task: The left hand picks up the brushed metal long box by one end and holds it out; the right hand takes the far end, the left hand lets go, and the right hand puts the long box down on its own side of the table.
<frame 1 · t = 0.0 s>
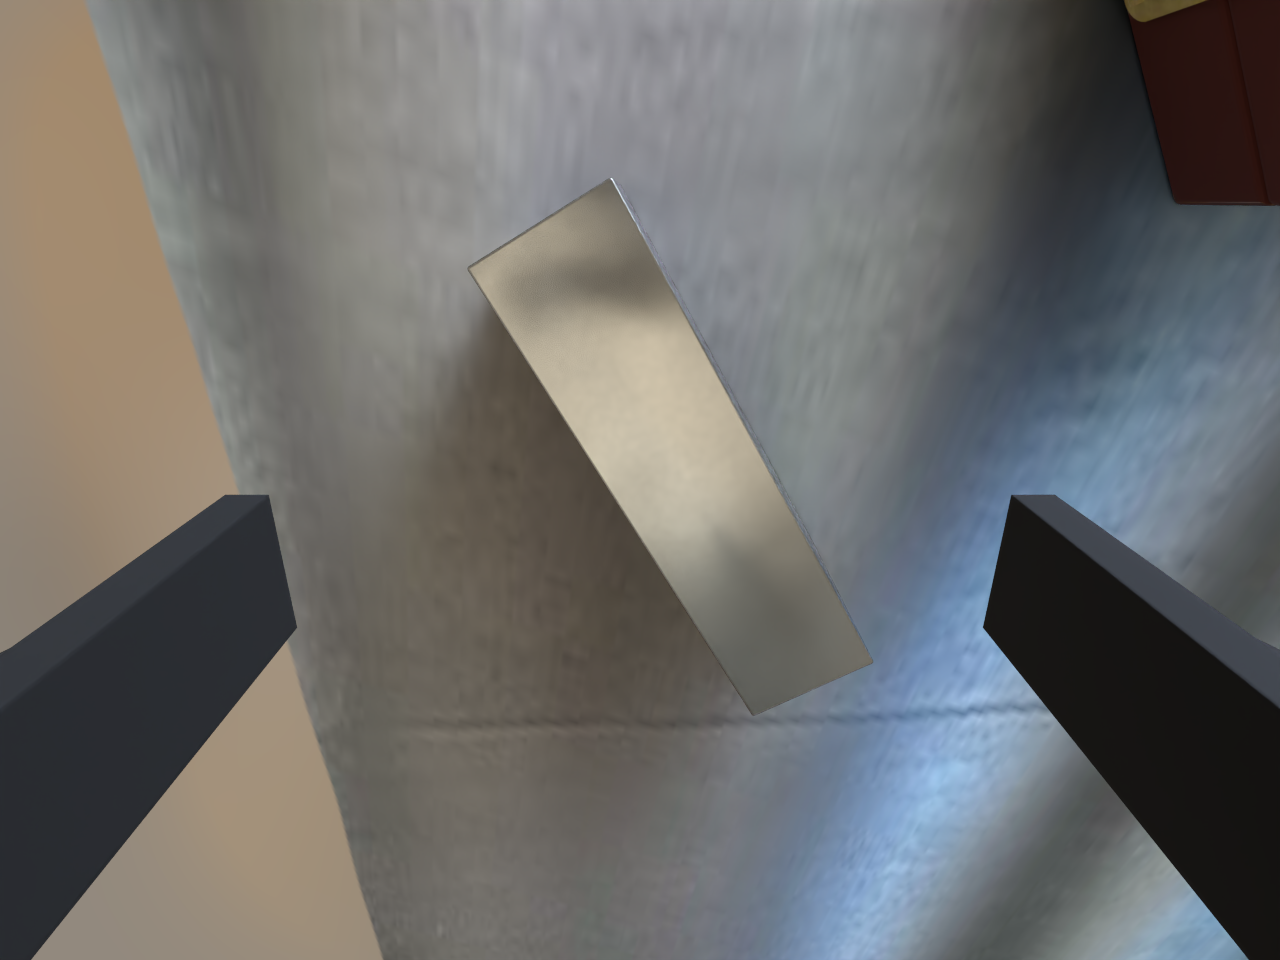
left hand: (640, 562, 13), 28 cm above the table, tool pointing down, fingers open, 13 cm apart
long box: (679, 411, 41), on the table
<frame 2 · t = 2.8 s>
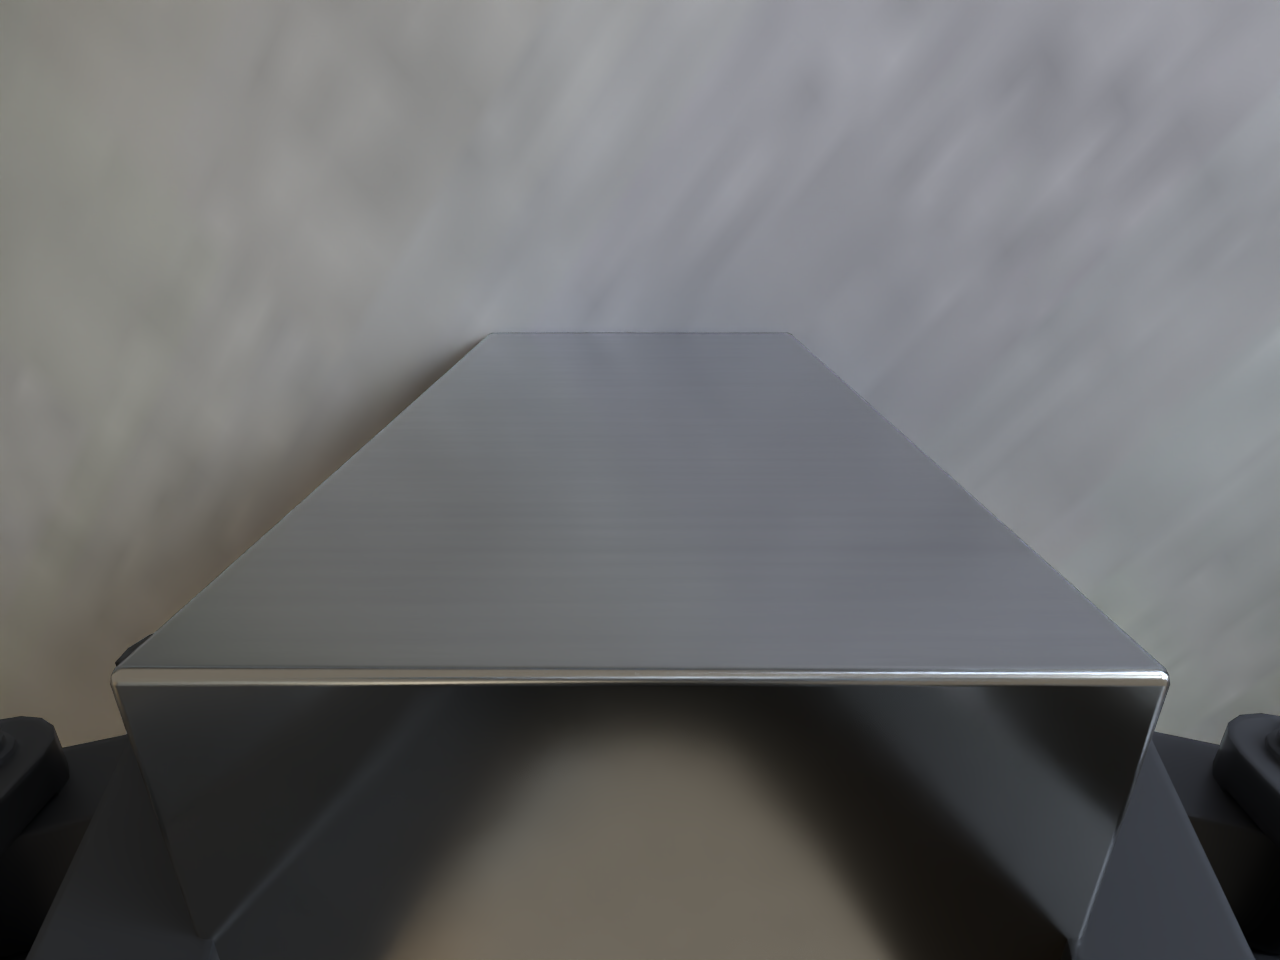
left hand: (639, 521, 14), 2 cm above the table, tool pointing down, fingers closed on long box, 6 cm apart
long box: (640, 776, 19), on the table, touching left hand
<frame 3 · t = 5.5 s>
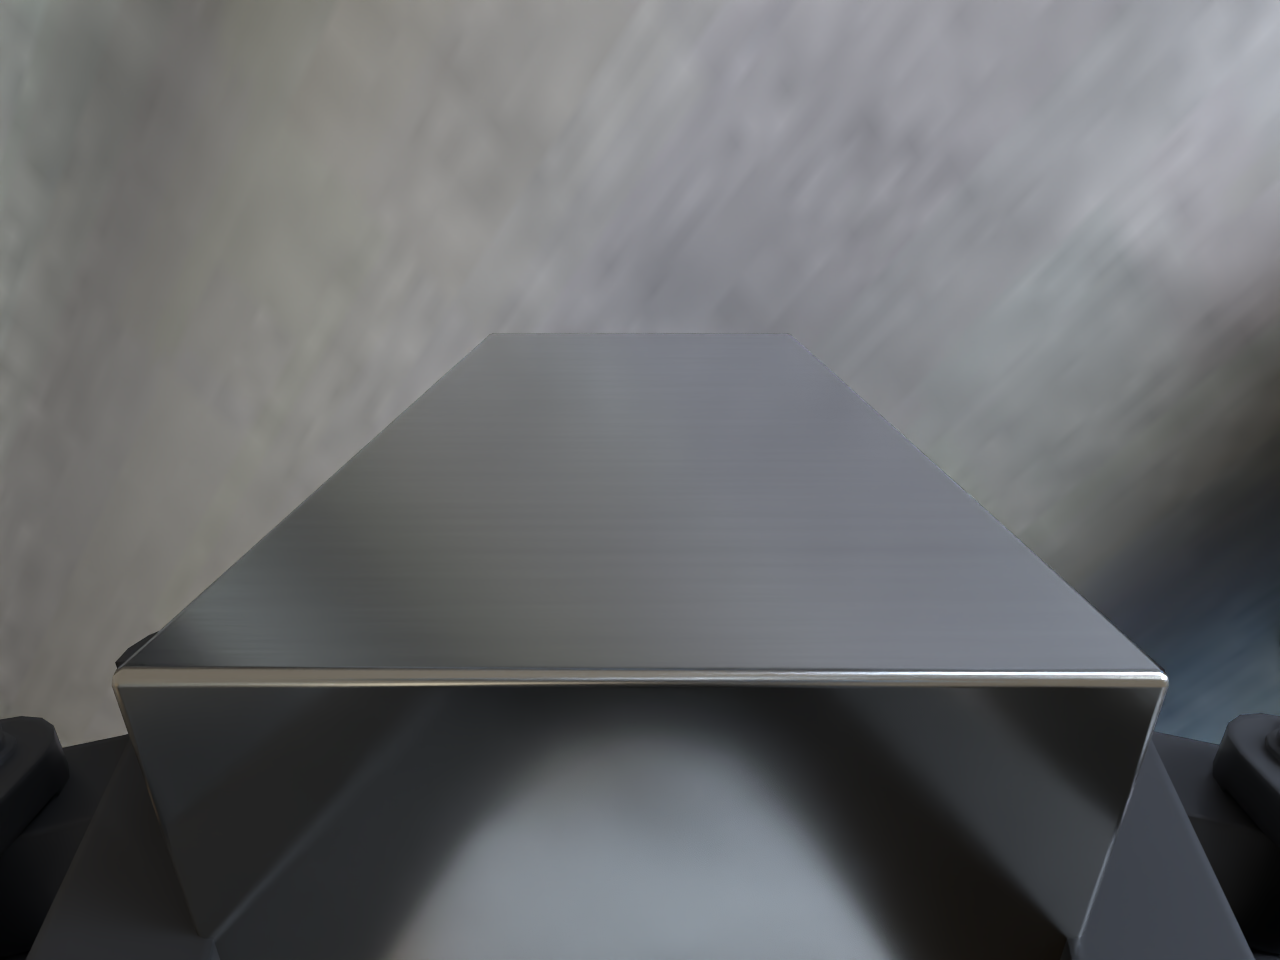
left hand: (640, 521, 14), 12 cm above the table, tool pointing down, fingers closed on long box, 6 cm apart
long box: (640, 777, 19), point 10 cm above the table, touching left hand
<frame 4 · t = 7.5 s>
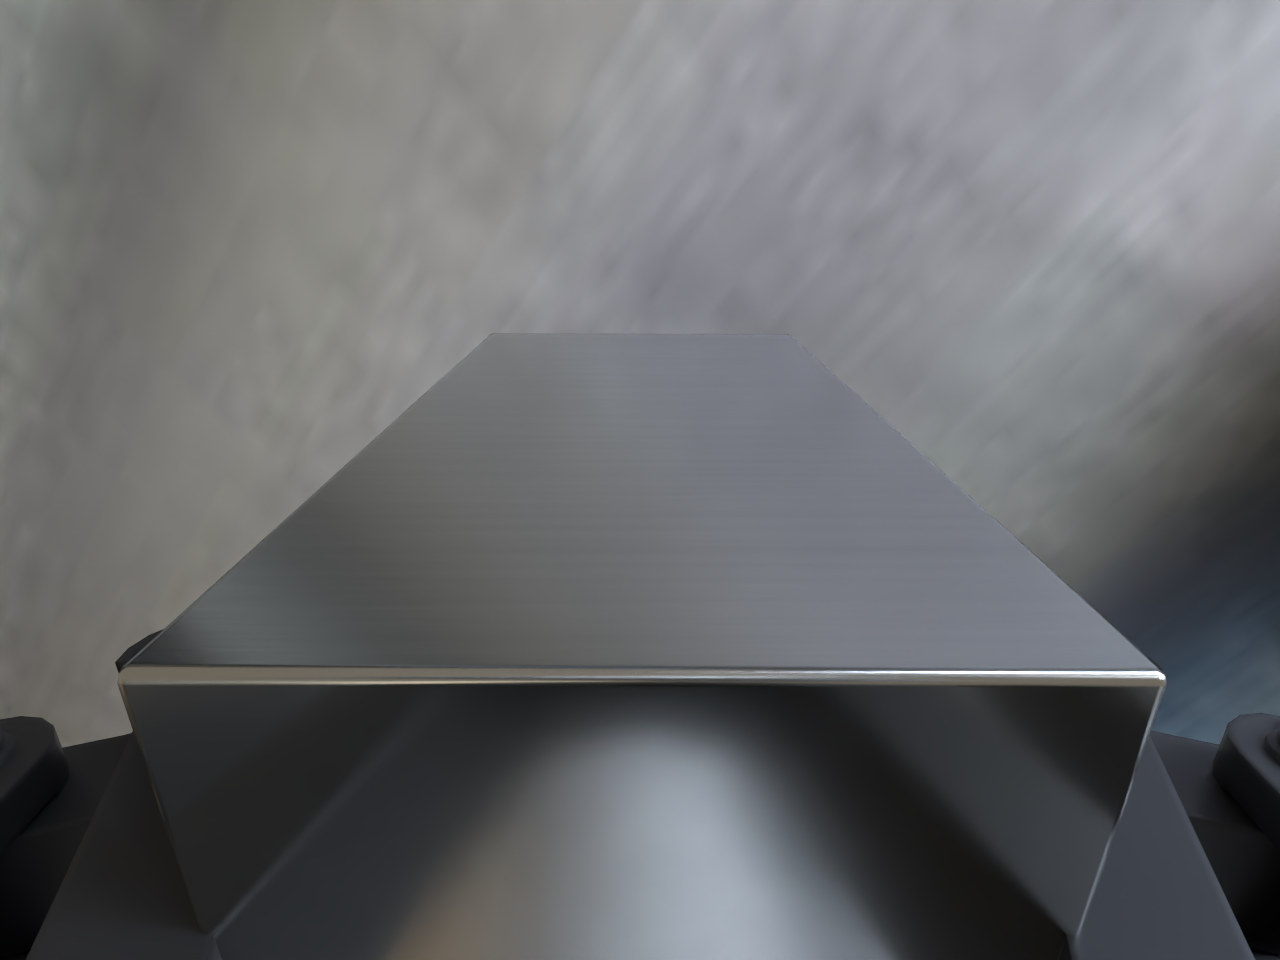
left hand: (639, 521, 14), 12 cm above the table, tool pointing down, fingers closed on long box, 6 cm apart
long box: (639, 776, 19), point 10 cm above the table, touching left hand, right hand
when the left hand's fingers open (12 cm above the table, at t = 8.4 s): long box stays where it is, held by the right hand.
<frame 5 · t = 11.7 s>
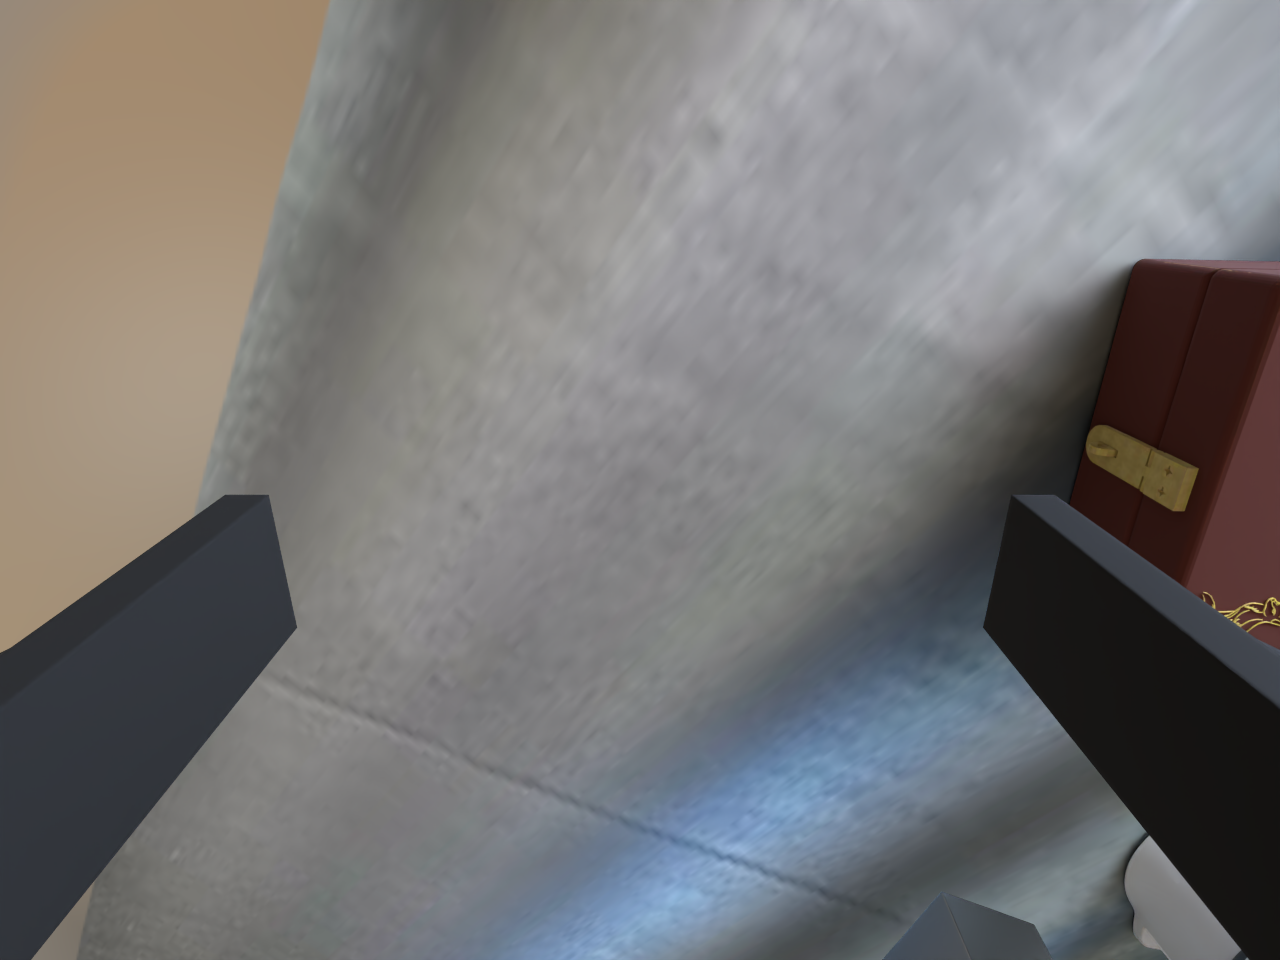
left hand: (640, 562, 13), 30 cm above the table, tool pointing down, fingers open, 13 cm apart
box: (1194, 436, 44), on the table
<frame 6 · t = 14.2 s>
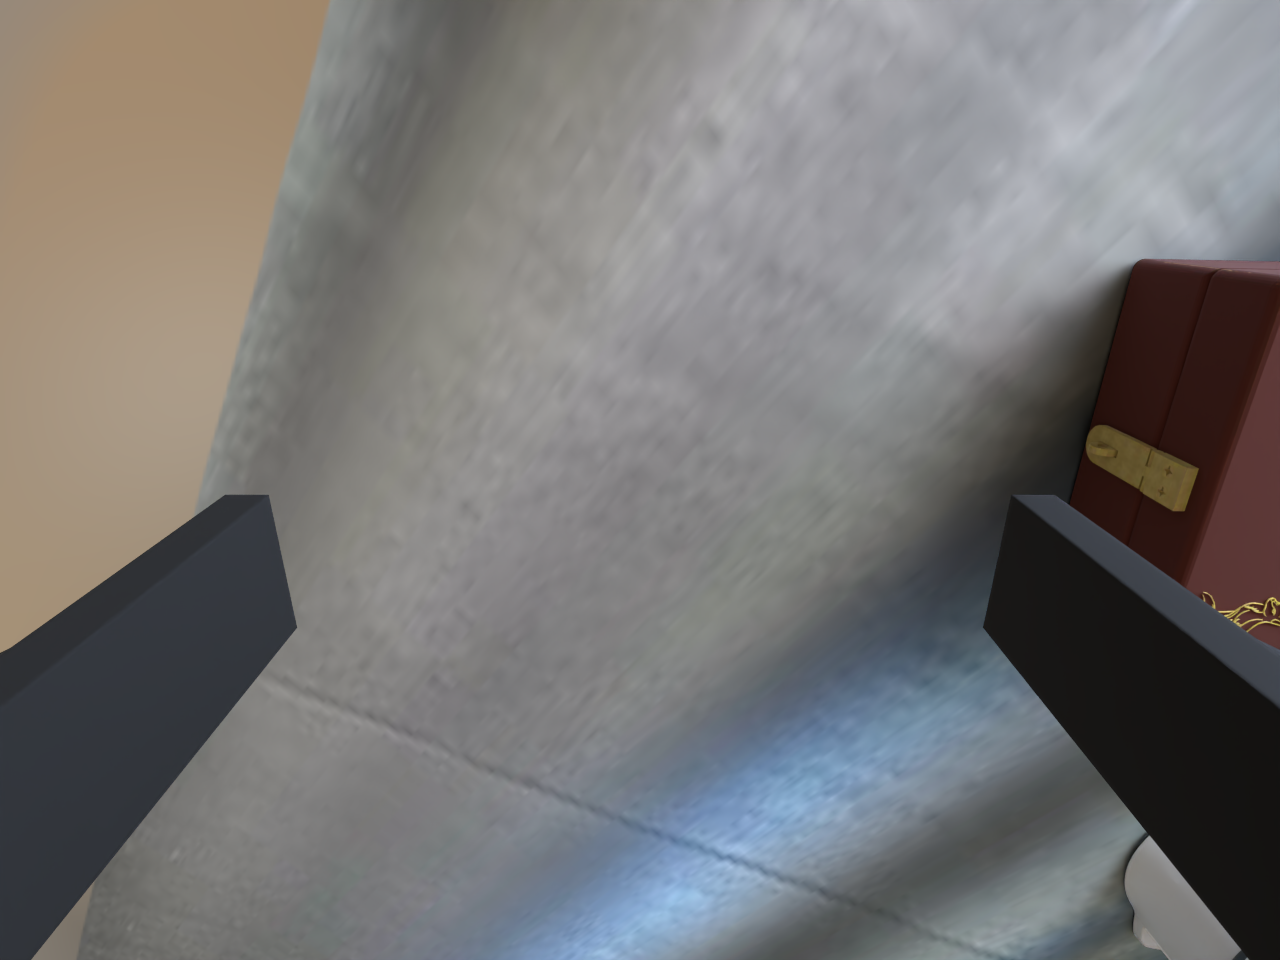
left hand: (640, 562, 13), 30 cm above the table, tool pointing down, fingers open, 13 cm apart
box: (1194, 436, 44), on the table
when the right hand's fingers open (7 cm above the table, at t = 16.2 s): long box stays where it is, on the table.
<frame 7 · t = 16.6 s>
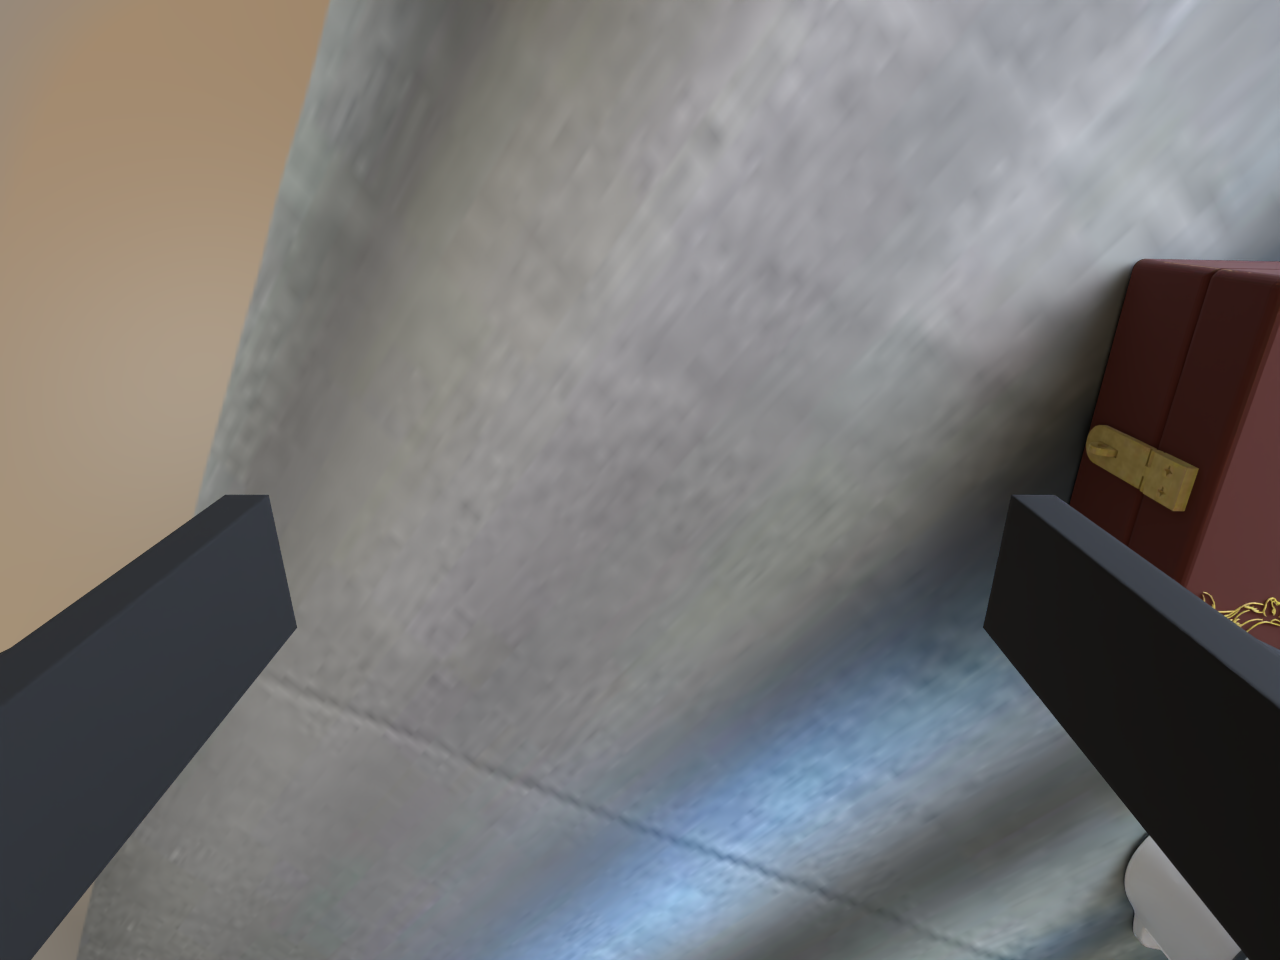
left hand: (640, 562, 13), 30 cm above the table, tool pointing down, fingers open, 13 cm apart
box: (1194, 436, 44), on the table
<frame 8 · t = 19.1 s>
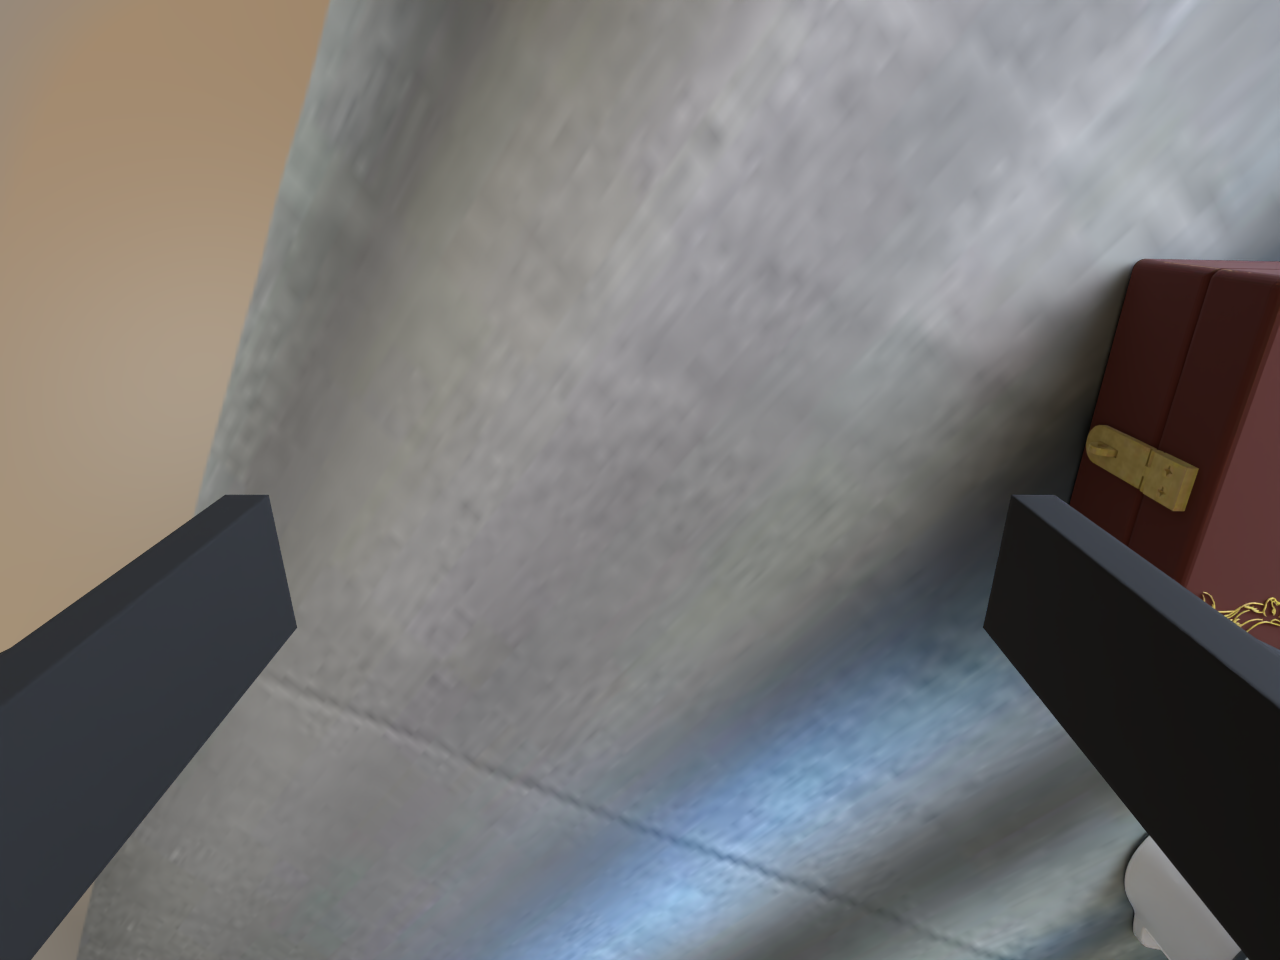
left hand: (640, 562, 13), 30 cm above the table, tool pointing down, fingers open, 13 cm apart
box: (1194, 436, 44), on the table
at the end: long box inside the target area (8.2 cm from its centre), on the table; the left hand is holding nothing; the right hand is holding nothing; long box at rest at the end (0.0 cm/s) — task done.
